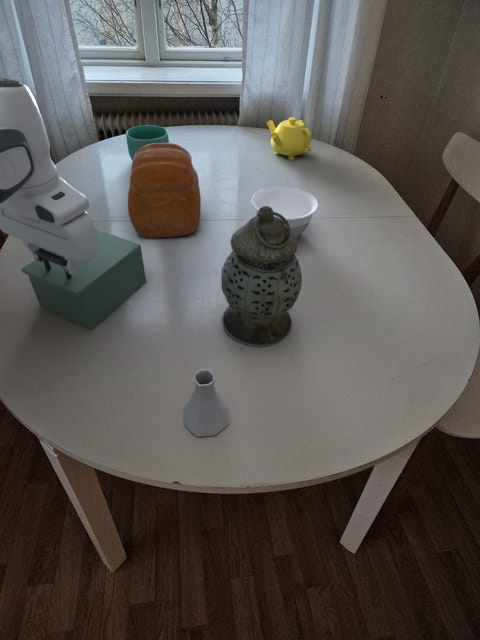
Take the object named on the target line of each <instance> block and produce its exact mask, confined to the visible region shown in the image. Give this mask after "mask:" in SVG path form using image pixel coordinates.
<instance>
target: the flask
mask: <svg viewBox="0 0 480 640" xmlns="http://www.w3.org/2000/svg"><path fill="white" fill-rule="evenodd" d="M192 377H193V378H192V379H193V384H194V390H193V392H192V394H191V396H190V398H189V399H188V401H187V403H186V404H185V407H184V409H183V425H184V426H185V427H186V428H187V429H188V430H189V432H190V433H192V435H193V436H194V437H196V438H201V437H210V436H216V435H217V434H219V433H220V432H221V431H222V430H223V429H225V428H226V427H228V426H229V425H230V420H229V411H228V408H227V406H226V404H225V403H224V402H223V400H222V398H221V397H220V396H219V394H218V392H217V390H216V387H215V383H216V373H214V372H213V370H211V369H210V368H200V369H198V370H197V371H195V372H193V374H192Z"/></svg>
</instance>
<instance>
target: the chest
mask: <svg viewBox="0 0 480 640" xmlns="http://www.w3.org/2000/svg"><path fill="white" fill-rule="evenodd" d="M27 276H28V279H29V281H30V284H31V287H32V290H33V291H34V294H35V297H36V299H37V302H38V304H39V307H41V308H43V309H45V310H47V311H49V312H51V313H54V314H56V315H59V316H60V317H63V318H65V319H66V320H69V321H72V322H73V323H76V324H78V325H80V326H82V327H84V328H88V329H89V330H92V331H93V330H95V328H97V327H98V326H99V325H100V324H101V323H102V322H104V321H105V320H106V319H107V318H108V317H109V316H111V314H113V313H114V312H115V311H116V310H118V308H119V307H121V306H122V305H123V304H125V302H126V301H128V300H129V299H130V298H131V297H132V296H133V295H134V294H136V293H137V292H138V291H139V290H140V289H141V288H142V287H144V286H145V285H146V284H147V283H148V282H147V276H146V270H145V263H144V258H143V250H142V247H141V248H140V249H139V250H138V251H136V252H135V253H134V254H132V255H131V256H130V257H129V258H127V259H126V260H125V261H123V262H122V263H121V264H120V265H118V266H117V267H116V268H114V269H113V270H112V271H111V272H109V273H108V274H107V275H105V276H104V277H103V278H102V279H100V280H99V281H98V282H96V283H95V284H94V285H93V286H91V287H90V288H89V289H87V290H86V291H85V292H84V293H82V294H81V295H80V296H76V295H74V294H71V293H69V292H67V291H64V290H62V289H60V288H57V287H55V286H53V285H50V284H48V283H46V282H43V281H41V280H39V279H36V278H34V277H32V276H29V275H27Z"/></svg>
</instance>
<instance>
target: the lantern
mask: <svg viewBox="0 0 480 640" xmlns="http://www.w3.org/2000/svg"><path fill="white" fill-rule="evenodd" d="M274 215H275V216H277V217H275V216H274ZM278 217H279V218H280V219H279V218H278ZM284 223H285V224H284ZM285 225H286V226H285ZM286 227H287V228H286ZM230 246H231V250H232V251H231V252H230V253H229V255H228V256H227V257H226V259H225V261H224V264H223V265H222V268H221V276H220V278H221V280H220V281H221V282H220V283H221V291H222V294H223V295H224V298H225V299H226V301H227V303H228V307H227V308H226V309H225V310H224V311H223V314H222V317H221V324H222V327H223V328H222V329H223V330H224V332H225V333H226V335H227V336H228V337H229V338H230V339H232V340H233V341H234V342H236V343H238V344H241V345H244V346H246V347H253V348H266V347H271V346H273V345H275V344H278V343H279V342H280V343H281V341H283V340H284V339H285V338H287V337H288V336H289V333H290V331H291V328H292V318H291V316H290V313H289V310H290V309H292V308H293V307H294V305H295V304H296V302H297V301H298V299H299V296H300V294H301V290H302V284H303V276H302V275H303V274H302V270H301V265H300V261H299V259H298V257H297V256H296V253H297V252H298V242H297V239H295V237H294V236H293V235H292V234H291V228H290V225H289V223H288V221H287V220H286V219H285V218H284V217H283V216H282V215H281V214H279V213H276V212H273V210H272V208H271V207H269V206H263V207H261V208H260V209H259V211H258V216H256V215H255V216H253V217H252V218H250V219H249V220H248V221H247V222H246V223H245V224H244V225H242V226H240V227H239V228H238V229H236V231H234V233H233V234H232V236H231V238H230Z"/></svg>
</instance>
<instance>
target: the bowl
mask: <svg viewBox="0 0 480 640" xmlns="http://www.w3.org/2000/svg"><path fill="white" fill-rule="evenodd" d="M250 204H251V207H252V208H253V209H254V213H255V216H258V211H259V209H260V208H261V207H263V206H269V207H271V208H272V210H273V212H276V213H279V214H281V215H282V216H283V217H284V218H285V219H286V220H287V221H288V223H289V225H290V228H291V234H292V235H293V236H294V237H295V239H296V240H298V238H299V235H300V234H302V233H303V232H304V231H305V230H306V229H307V227H308V226H309V225H310V222H311V220H312V218H313V215H314V214H316V213H317V211H318V209H319V201H318V200H317V198H316V197H315V196H314V195H313V194H311V192H308V191H306V190H303V189H301V188H297V187H292V186H283V185H282V186H280V185H279V186H270V187H266V188H262V189H261V190H258V191H256V192H255V193H254V194H253V196H252V197H251V201H250ZM274 216H275V215H274ZM275 217H277V216H275ZM278 218H279V217H278ZM279 219H280V218H279ZM284 224H285V223H284ZM285 226H286V225H285ZM286 228H287V227H286Z"/></svg>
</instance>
